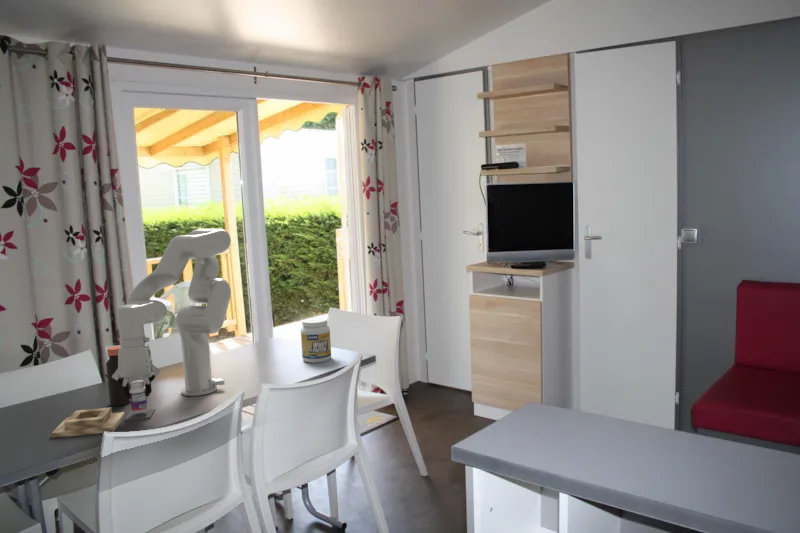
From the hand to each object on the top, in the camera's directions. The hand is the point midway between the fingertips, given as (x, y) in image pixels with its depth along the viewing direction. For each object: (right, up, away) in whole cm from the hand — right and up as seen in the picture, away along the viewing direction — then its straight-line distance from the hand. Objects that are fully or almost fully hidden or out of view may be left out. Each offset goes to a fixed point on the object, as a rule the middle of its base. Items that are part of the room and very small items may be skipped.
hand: (138, 395), depth 218 cm
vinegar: (-12, -6, +15) cm, 20 cm away
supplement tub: (+51, +3, +61) cm, 80 cm away
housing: (-13, -8, -7) cm, 17 cm away
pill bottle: (0, -5, 0) cm, 5 cm away
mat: (0, -7, +1) cm, 7 cm away
